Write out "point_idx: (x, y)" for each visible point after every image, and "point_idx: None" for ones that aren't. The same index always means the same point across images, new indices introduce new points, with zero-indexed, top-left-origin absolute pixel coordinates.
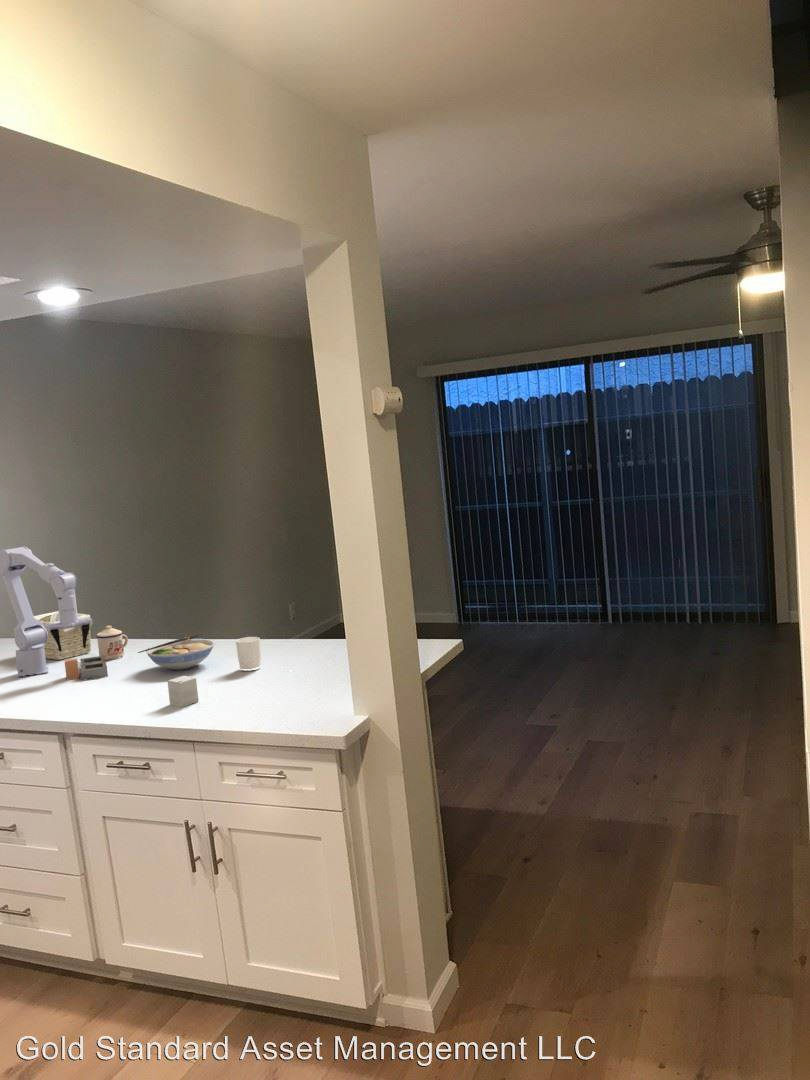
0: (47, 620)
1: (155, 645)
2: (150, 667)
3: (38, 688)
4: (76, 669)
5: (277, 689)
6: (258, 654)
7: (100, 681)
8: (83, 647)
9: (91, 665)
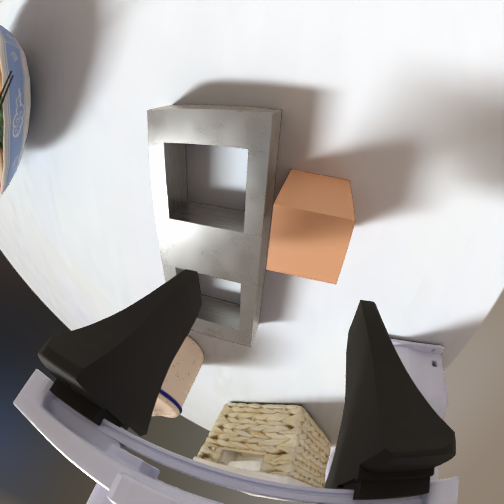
0: None
1: (1, 181)
2: (63, 149)
3: (478, 132)
4: (293, 185)
5: None
6: None
7: (207, 29)
8: (198, 282)
9: (215, 225)
